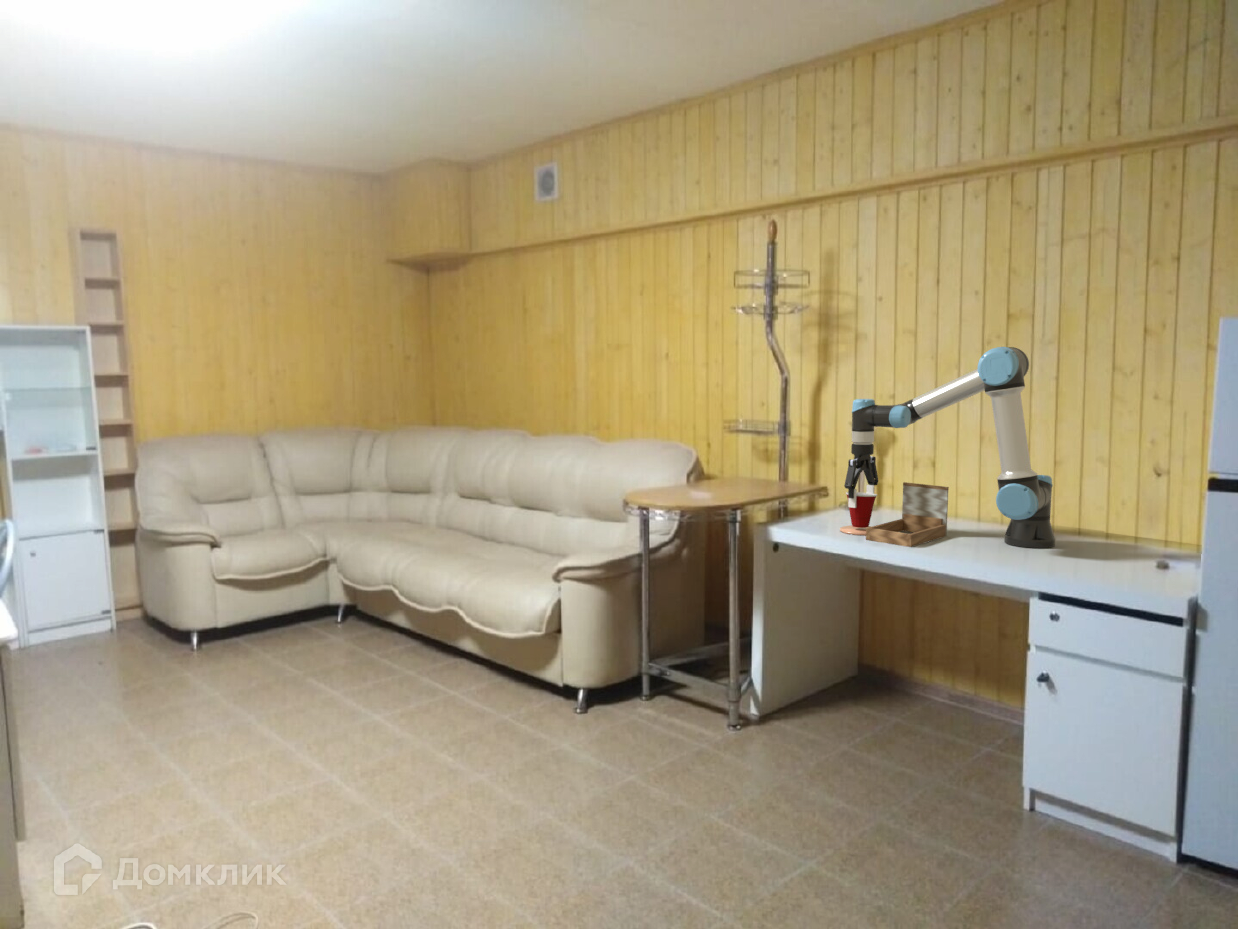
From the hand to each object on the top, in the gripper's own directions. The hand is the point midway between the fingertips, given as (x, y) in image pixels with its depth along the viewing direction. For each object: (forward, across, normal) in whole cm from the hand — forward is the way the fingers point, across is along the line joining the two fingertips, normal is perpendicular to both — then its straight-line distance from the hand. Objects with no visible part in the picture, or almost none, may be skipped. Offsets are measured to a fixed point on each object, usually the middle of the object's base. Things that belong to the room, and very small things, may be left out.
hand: (861, 505), depth 311 cm
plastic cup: (+8, 0, 0) cm, 8 cm away
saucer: (+9, 0, 0) cm, 9 cm away
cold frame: (+9, -1, +17) cm, 19 cm away
